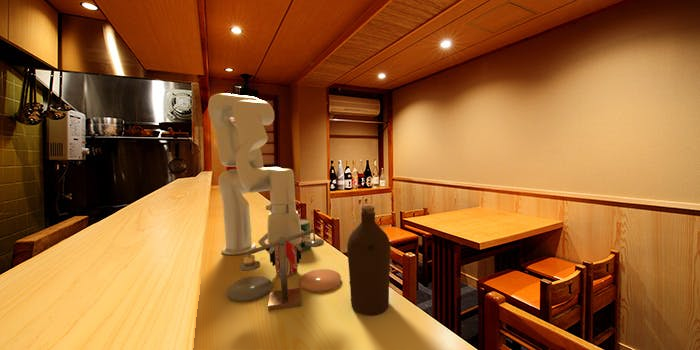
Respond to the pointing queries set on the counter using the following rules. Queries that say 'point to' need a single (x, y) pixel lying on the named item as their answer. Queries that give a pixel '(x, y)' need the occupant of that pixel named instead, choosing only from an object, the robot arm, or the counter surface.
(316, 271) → the dish high
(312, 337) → the counter surface
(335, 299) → the counter surface
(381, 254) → the olive oil
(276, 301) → the balance
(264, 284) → the dish low
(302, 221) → the canned tomato
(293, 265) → the soda can
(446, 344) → the counter surface
